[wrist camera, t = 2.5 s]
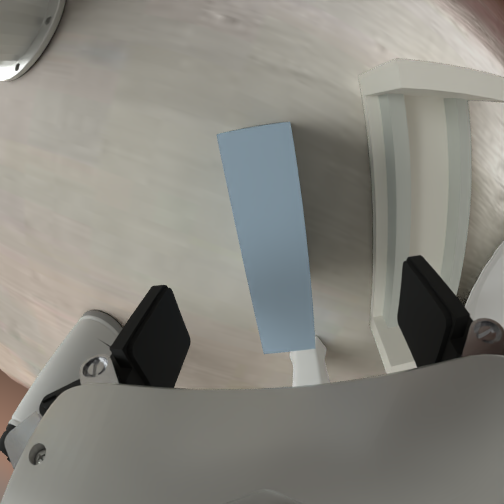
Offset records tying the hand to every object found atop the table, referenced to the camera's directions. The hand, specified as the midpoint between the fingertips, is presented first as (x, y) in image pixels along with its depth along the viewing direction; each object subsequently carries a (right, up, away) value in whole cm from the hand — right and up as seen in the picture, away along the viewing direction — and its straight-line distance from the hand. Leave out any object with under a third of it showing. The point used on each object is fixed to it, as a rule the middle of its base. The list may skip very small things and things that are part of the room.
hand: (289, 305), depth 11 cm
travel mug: (-18, -7, +18) cm, 27 cm away
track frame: (+12, +5, +9) cm, 16 cm away
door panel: (0, +6, +10) cm, 12 cm away
